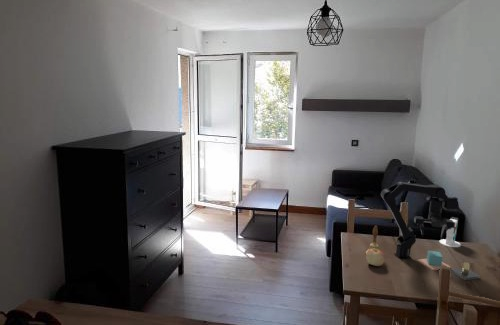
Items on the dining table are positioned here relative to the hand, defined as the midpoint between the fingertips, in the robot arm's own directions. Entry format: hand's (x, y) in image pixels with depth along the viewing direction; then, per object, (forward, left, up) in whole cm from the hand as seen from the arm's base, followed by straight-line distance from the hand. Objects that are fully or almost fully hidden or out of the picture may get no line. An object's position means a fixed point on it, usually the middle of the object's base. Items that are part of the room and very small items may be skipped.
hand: (431, 237), depth 203 cm
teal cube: (-3, -7, -11) cm, 14 cm away
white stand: (+27, +15, -12) cm, 33 cm away
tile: (-3, -7, -12) cm, 14 cm away
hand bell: (-27, +11, -12) cm, 32 cm away
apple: (-34, -1, -12) cm, 36 cm away
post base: (+4, -20, -12) cm, 24 cm away
